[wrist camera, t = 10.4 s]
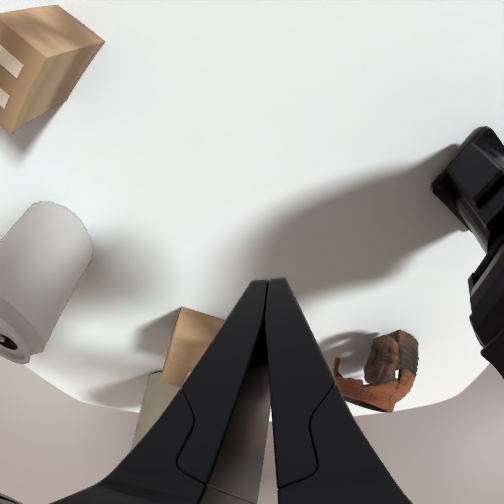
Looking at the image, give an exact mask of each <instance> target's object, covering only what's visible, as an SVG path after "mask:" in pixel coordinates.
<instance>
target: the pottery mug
mask: <svg viewBox="0 0 504 504" xmlns="http://www.w3.org/2000/svg"><path fill="white" fill-rule="evenodd" d="M397 336H398V340H397V341H396V340H395V339H394V338H392V337H390V336H389V335H383V336H380V337H377V338H374V339H373V344H372V346H371V352H370V356H369V357H368V359H367V363H366V365H365V367H364V378H365V381H366V382H367V383H370V384H367V385H363V381H362V380H354V379H352V378H347V379H345V378H343V377H342V376H341V375H340V373H339V372H338V367H339V362H340V359H339V358H338V357H336V358H335V363H334V368H333V374H334V379H335V382H336V385H337V386H338V387H339V390H340V392H341V394H342V396H343V398H344V400H345V401H347V402H350V403H352V404H355V405H358V406H361V407H364V408H367V409H371V410H375V411H379V412H392V411H393V409H394V406H395V403H396V402H398V401H400V400H401V399H402V398H403V397H405V396H406V394H407V393H409V392H410V389H411V387H412V386H413V382H414V380H415V377H416V372H417V365H418V359H419V358H418V342H417V340H416V339H415V338H414V337H413V336H412V335H411V334H408V333H407V332H404V331H402V330H399V331H398V332H397ZM395 370H399V374H398V379H396V378H395Z"/></svg>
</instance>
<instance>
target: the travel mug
mask: <svg viewBox="0 0 504 504" xmlns="http://www.w3.org/2000/svg"><path fill="white" fill-rule="evenodd" d="M161 375H162V372H157V373H153V374H151V375H150V376H149V379H148V383H147V387H146V390H145V394H144V398H143V402H142V406H141V410H140V414H139V418H138V422H137V426H136V430H135V434H134V438H133V443H132V447H131V450H132V449H133V448H134V447H135V446H136V445H137V444H138V442H139V441H140V440H141V439H142V438H143V437H144V436H145V434H146V433H147V432H148V431H149V430H150V428H151V427H152V426H153V425H154V424H155V422H156V421H157V420H158V419H159V417H160V416H161V415H162V413H163V412H164V411H165V409H166V408H167V406H168V405H169V404H170V402H171V401H172V399H173V398H174V396H175V395H176V394H177V392H178V390H179V389H182V388H181V387H177V386H174V385H170V384H167V383H164V382H160V379H161Z"/></svg>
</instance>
